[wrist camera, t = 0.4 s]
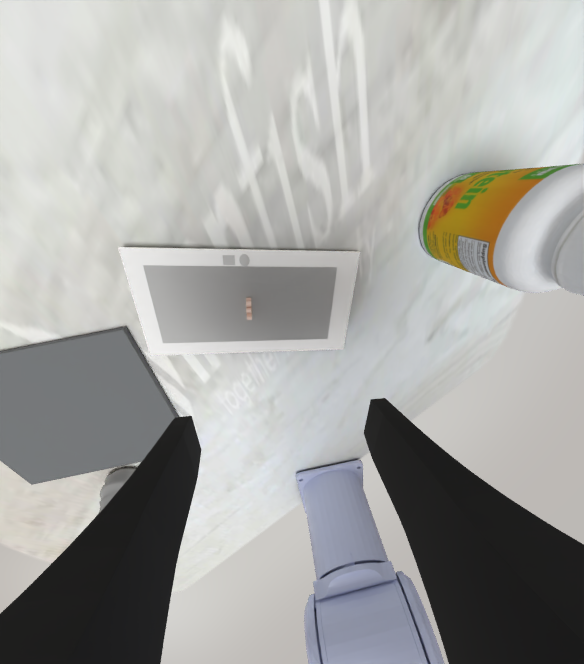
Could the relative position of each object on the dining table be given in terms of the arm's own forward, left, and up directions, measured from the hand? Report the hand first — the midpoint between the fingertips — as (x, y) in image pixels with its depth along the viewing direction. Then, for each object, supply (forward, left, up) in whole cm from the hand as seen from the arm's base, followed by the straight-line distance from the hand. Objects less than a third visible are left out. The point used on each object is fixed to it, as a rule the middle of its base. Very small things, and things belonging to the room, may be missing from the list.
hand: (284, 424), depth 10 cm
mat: (-5, +18, -10) cm, 22 cm away
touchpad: (+1, +1, -11) cm, 11 cm away
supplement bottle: (+5, -14, -10) cm, 18 cm away
